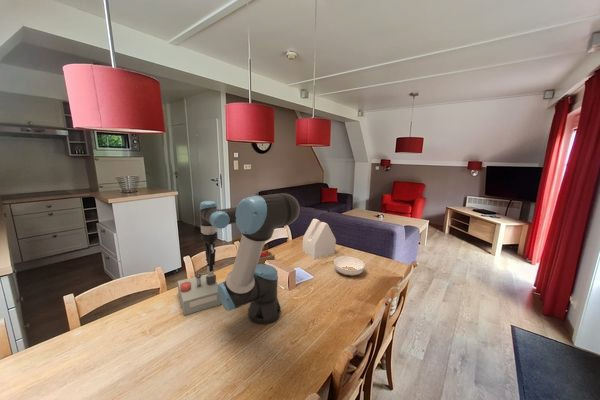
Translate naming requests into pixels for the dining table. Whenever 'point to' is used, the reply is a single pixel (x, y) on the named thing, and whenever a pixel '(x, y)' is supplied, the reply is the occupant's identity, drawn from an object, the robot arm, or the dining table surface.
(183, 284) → the knob red
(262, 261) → the brown wooden crate
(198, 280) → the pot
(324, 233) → the white house shaped block
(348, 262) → the bowl
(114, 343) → the dining table surface
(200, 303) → the control box
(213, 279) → the knob black
